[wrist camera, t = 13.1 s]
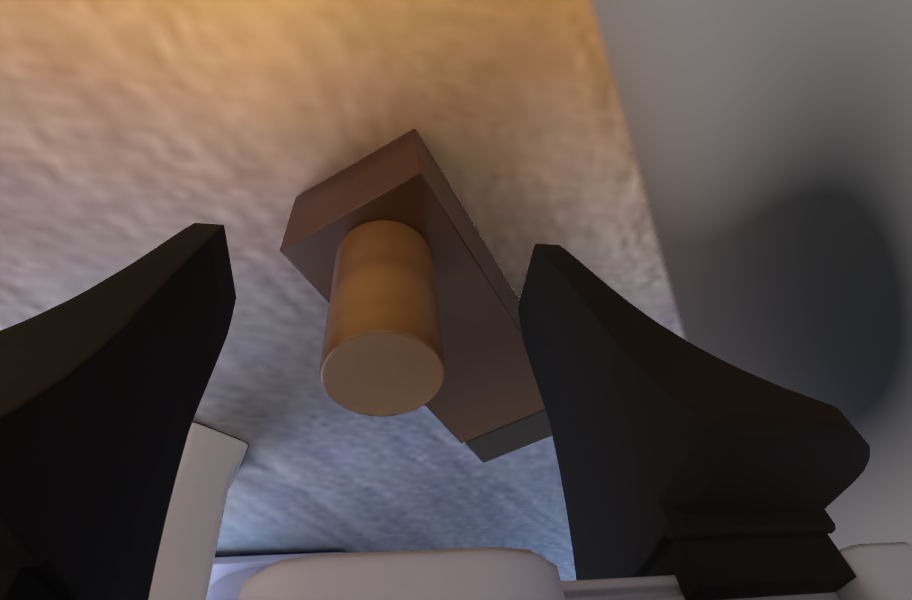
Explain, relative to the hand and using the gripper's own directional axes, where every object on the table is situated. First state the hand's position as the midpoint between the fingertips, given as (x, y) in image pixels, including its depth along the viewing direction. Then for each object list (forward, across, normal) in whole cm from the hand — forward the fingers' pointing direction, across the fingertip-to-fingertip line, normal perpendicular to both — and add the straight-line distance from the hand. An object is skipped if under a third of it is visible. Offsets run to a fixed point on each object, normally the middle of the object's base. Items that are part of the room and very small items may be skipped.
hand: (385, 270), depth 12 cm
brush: (+3, -2, +3) cm, 5 cm away
